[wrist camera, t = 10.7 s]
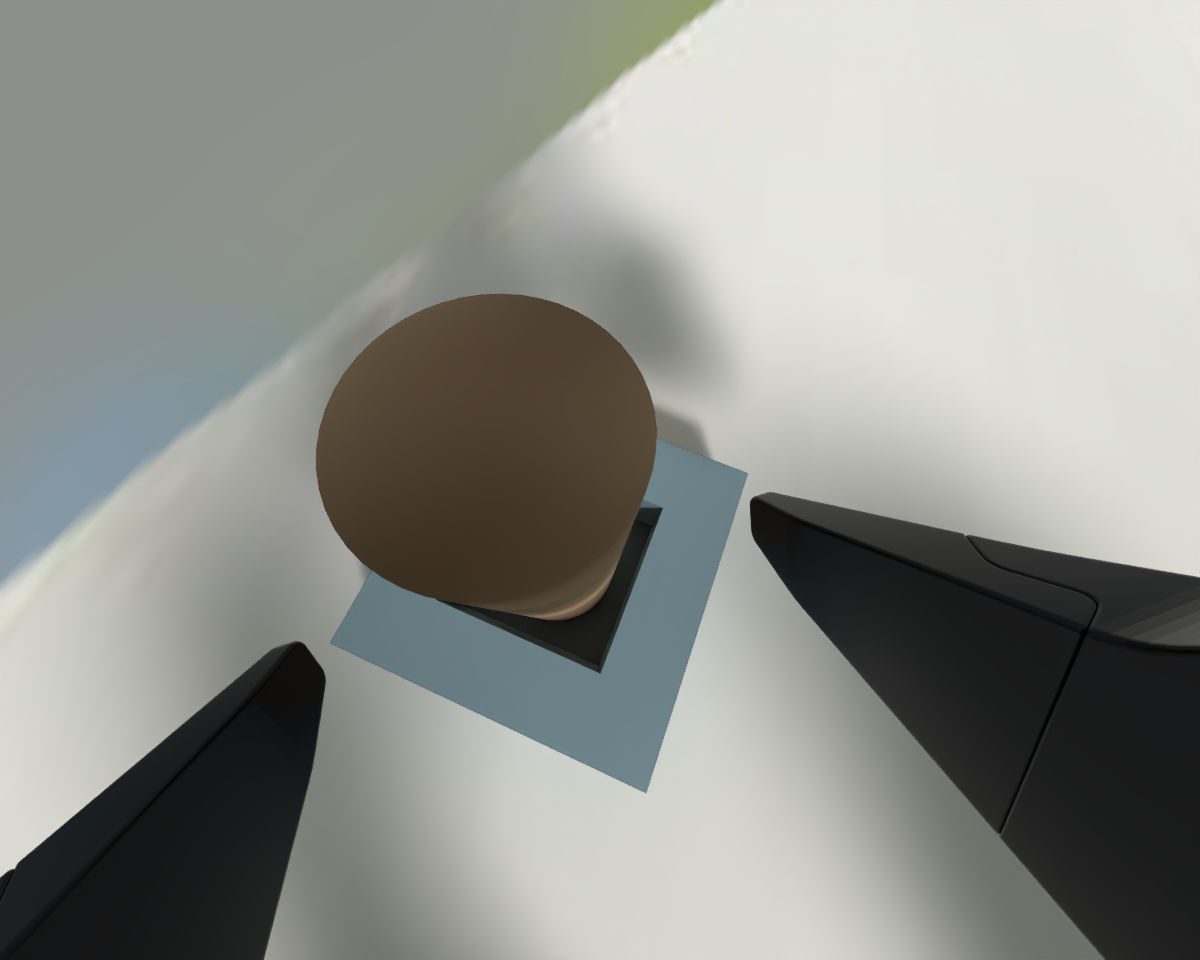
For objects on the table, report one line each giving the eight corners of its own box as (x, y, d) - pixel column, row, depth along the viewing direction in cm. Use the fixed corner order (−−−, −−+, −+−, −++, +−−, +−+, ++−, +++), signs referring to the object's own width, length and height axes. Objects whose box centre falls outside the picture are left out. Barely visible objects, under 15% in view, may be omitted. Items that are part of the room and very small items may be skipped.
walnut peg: (628, 537, 18) (700, 354, 6) (587, 639, 17) (577, 667, 5) (534, 499, 19) (426, 257, 7) (488, 595, 18) (241, 517, 5)
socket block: (726, 490, 19) (749, 466, 16) (636, 763, 16) (646, 793, 13) (503, 404, 20) (489, 367, 17) (373, 640, 17) (329, 643, 14)
